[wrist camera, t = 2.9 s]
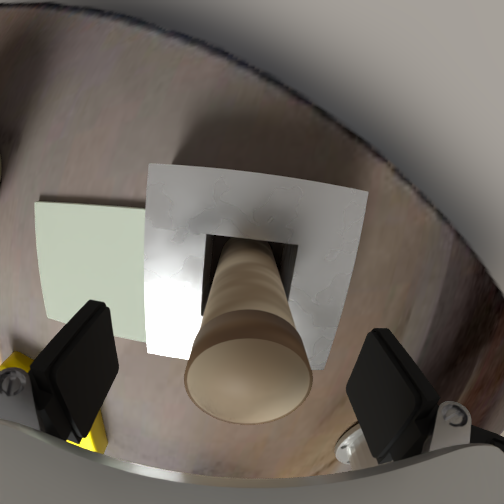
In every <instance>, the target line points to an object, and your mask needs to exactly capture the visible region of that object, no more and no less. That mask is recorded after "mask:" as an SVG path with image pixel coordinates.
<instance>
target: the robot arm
mask: <svg viewBox="0 0 504 504" xmlns="http://www.w3.org/2000/svg"><path fill="white" fill-rule="evenodd" d="M118 369H119V364H118V358H117V353H116V347H115V341H114V334H113V328H112V320H111V312H110V308H109V307H106V304H105V303H104V302H101V301H96V300H89V301H87V302H86V303H85V305H84V306H83V307H82V308H81V309H80V310H79V311H78V312H77V313H76V314H75V315H74V316H73V317H72V318H71V319H70V320H69V321H68V323H67V324H66V325H65V326H64V327H63V328H62V329H61V330H60V331H59V332H58V333H57V335H56V336H55V337H54V338H53V339H52V340H51V341H50V342H49V344H48V345H47V346H46V347H45V348H44V349H43V351H42V352H41V353H40V354H39V355H38V356H37V358H36V359H35V360H34V361H33V362H32V364H31V365H30V370H29V372H28V373H27V372H26V371H25V370H23V369H21V368H17V367H9V368H6V369H3V370H2V371H0V504H504V437H502V436H500V435H498V434H496V433H493V432H490V431H487V430H484V429H482V428H479V427H476V426H473V425H471V416H470V414H469V412H468V410H467V409H466V408H465V407H464V406H462V405H461V404H459V403H457V402H453V401H446V402H444V403H442V404H441V405H440V406H438V404H437V402H438V401H439V399H440V396H439V395H438V394H437V392H436V391H435V389H434V388H433V387H432V385H431V384H430V382H429V381H428V380H427V378H426V377H425V376H424V374H423V373H422V372H421V370H420V369H419V368H418V366H417V365H416V364H415V362H414V361H413V360H412V358H411V357H410V356H409V354H408V353H407V352H406V350H405V349H404V348H403V347H402V345H401V344H400V343H399V341H398V340H397V339H396V338H395V336H394V335H393V334H392V332H391V331H390V330H389V329H387V328H374V329H373V330H372V331H371V332H369V333H368V334H367V336H366V339H365V341H364V344H363V347H362V349H361V352H360V354H359V357H358V359H357V362H356V364H355V366H354V369H353V371H352V374H351V376H350V378H349V380H348V383H347V386H346V392H347V395H348V397H349V400H350V402H351V405H352V407H353V410H354V412H355V414H356V417H357V419H358V422H359V423H358V424H357V425H355V426H354V427H352V428H351V429H350V430H349V431H347V432H346V433H345V434H344V435H343V436H342V437H341V438H340V439H339V441H338V442H337V444H336V446H335V455H336V458H337V459H338V461H340V462H342V463H345V464H350V465H351V469H352V471H348V472H342V473H335V474H328V475H319V476H309V477H297V478H275V479H249V478H227V477H214V476H204V475H196V474H188V473H181V472H175V471H169V470H163V469H158V468H153V467H149V466H144V465H140V464H136V463H132V462H128V461H124V460H121V459H117V458H114V457H110V456H107V455H104V454H101V453H97V452H94V451H91V450H88V449H85V448H83V447H80V446H77V445H74V444H72V443H69V442H67V440H68V441H71V442H73V443H76V444H78V445H80V443H81V440H82V438H84V439H85V438H87V436H88V434H89V432H90V430H91V428H92V425H93V423H94V421H95V419H96V417H97V414H98V412H99V410H100V408H101V406H102V404H103V402H104V400H105V398H106V396H107V393H108V391H109V389H110V387H111V385H112V383H113V381H114V379H115V377H116V375H117V373H118Z"/></svg>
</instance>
